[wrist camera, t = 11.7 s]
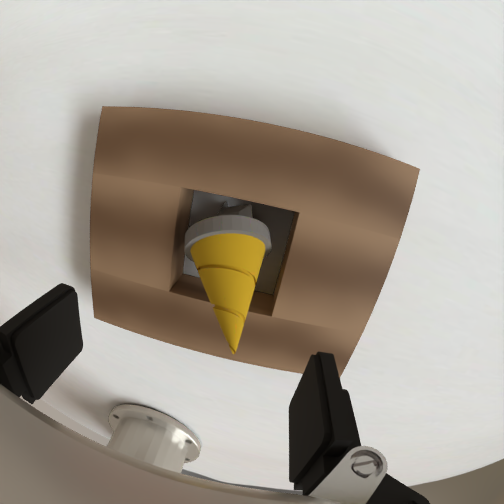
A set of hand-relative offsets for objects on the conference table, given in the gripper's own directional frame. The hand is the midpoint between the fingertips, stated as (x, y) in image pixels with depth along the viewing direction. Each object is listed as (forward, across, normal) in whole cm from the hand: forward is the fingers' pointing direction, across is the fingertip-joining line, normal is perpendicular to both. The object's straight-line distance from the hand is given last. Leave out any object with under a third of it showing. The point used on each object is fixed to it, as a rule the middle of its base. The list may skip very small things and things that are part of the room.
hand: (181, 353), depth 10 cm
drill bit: (+12, -1, -1) cm, 12 cm away
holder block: (+11, 0, -1) cm, 11 cm away
